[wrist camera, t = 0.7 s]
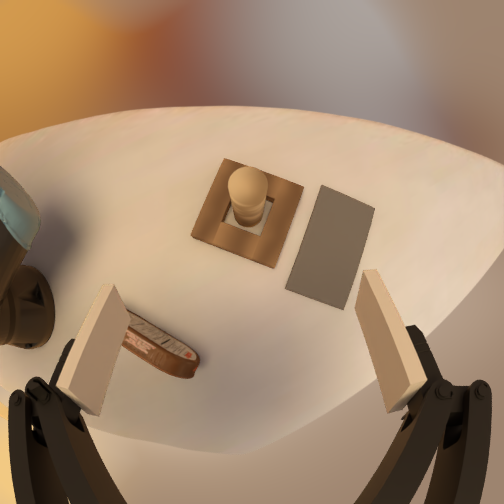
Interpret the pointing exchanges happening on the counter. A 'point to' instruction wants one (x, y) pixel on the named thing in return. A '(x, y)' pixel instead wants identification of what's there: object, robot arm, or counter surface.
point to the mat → (331, 248)
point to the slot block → (240, 240)
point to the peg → (248, 195)
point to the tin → (160, 348)
